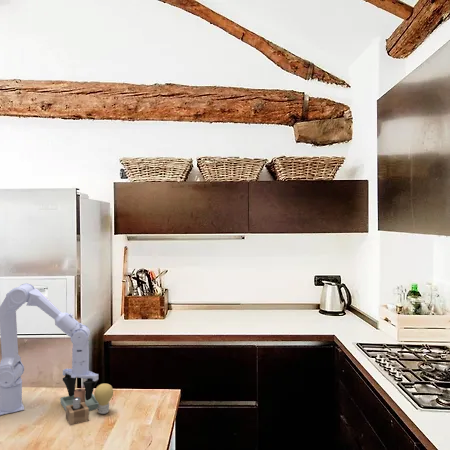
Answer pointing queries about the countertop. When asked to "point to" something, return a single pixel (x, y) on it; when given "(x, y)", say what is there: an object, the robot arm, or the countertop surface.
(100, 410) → the light bulb
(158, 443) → the countertop surface
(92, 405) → the tray
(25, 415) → the countertop surface
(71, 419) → the walnut block
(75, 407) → the cylinder
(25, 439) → the countertop surface
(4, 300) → the robot arm
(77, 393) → the terracotta round
